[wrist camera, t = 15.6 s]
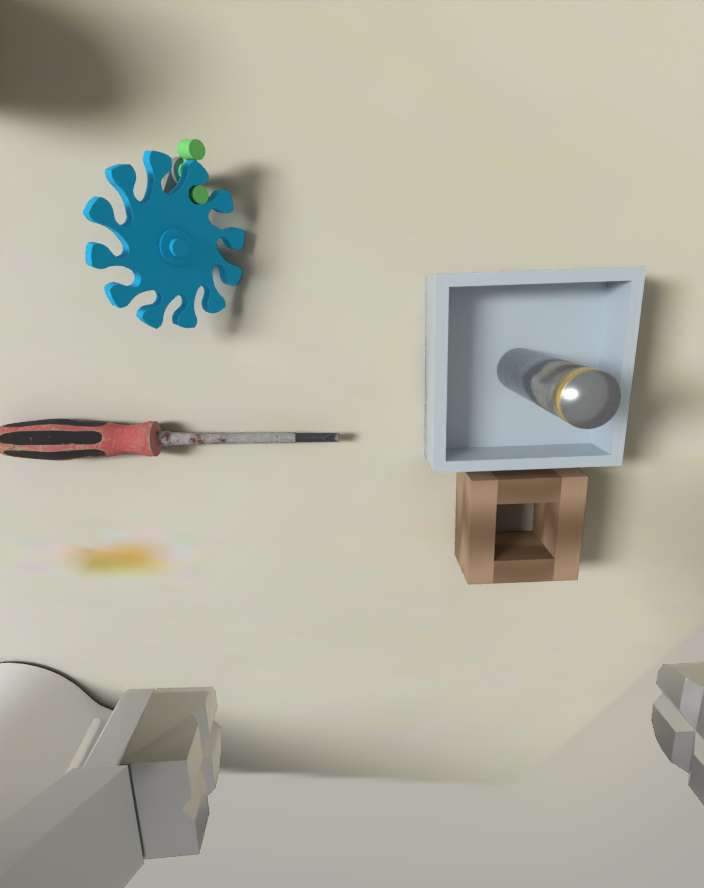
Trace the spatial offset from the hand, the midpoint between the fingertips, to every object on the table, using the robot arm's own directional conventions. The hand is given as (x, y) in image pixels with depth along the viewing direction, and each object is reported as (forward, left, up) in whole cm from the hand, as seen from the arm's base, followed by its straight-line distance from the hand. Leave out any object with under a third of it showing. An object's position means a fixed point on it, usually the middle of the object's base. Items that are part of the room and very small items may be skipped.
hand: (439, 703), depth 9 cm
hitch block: (-9, -11, -29) cm, 33 cm away
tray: (+2, -11, -29) cm, 31 cm away
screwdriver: (-2, +14, -30) cm, 33 cm away
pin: (+2, -11, -28) cm, 30 cm away
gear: (+11, +11, -30) cm, 34 cm away
